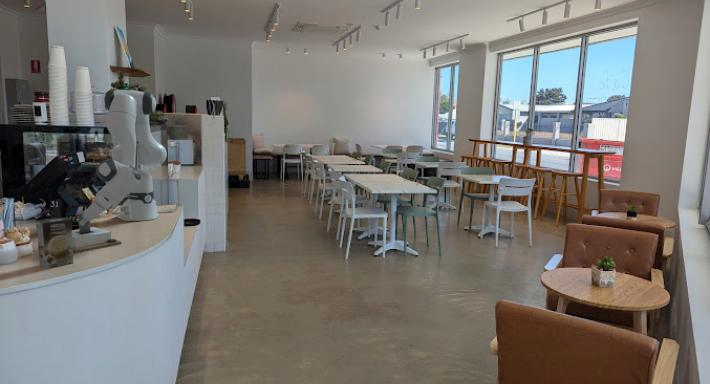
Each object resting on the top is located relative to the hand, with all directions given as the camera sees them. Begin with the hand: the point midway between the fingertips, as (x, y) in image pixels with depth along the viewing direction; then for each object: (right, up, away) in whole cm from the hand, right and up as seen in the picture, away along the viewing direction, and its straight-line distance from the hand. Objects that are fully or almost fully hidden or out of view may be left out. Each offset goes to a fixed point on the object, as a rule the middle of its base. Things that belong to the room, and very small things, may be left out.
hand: (82, 222), depth 197 cm
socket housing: (0, -9, +1) cm, 9 cm away
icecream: (-26, -6, +19) cm, 33 cm away
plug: (+1, -5, +1) cm, 5 cm away
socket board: (0, -9, +1) cm, 9 cm away
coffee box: (+6, -13, -26) cm, 30 cm away
